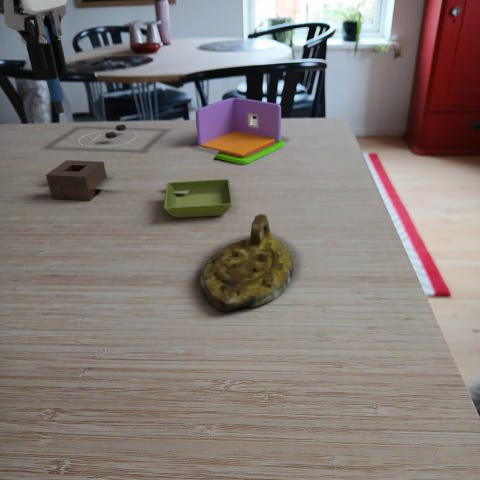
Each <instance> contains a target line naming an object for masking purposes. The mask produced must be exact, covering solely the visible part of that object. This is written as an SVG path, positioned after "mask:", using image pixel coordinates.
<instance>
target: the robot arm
mask: <svg viewBox="0 0 480 480" xmlns="http://www.w3.org/2000/svg"><path fill="white" fill-rule="evenodd" d="M67 2H68V0H0V16H4V24H5V26H6V27H7V28H10V29H12V30H14V31H16V32H17V33H18V34H19V35H20V39H21V42H22V43H23V44H24V45H25V46H26V51H27V55H28V59H29V63H30V67H31V71H32V75H33V78H34V79H36V80H46V79H57V78H58V77H59V76H65V75H67V74H68V68H67V62H66V58H65V52H64V48H63V43H62V38H63V31H62V26H61V23H62V19H63V18H64V17H65V15H66V13H67V9H66V4H67ZM32 21H33V22H32ZM44 26H46V27H47V29H48V34H49V38H50V42H51V43H47V36H46V31H45V27H44Z"/></svg>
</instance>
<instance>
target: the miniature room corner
mask: <svg viewBox="0 0 480 480" xmlns="http://www.w3.org/2000/svg"><path fill="white" fill-rule="evenodd" d="M254 117H255V118H256V123H253V121H254V119H253V118H254ZM195 127H196V138H197V145H198V146H199V147H202V148H207V149H211V150H215V151H217V153H216V154H215V156H214V157H213V158H214V159H218V160H222V161H225V162H229V163H234V164H239V165H247V164H249V163H253V162H254V161H257V160H259V159H261V158H263V157H265V156H267V155H269V154H271V153H273V152H275V151H277V150H279V149H281V148H283V147H285V145H286V142H285V141H284V140H282V139H281V138H282V106H281V104H279V103H274V102H269V101H268V102H267V101H263V100H262V101H261V100H255V99H248V98H242V97H229V98H226V99H225V98H224V99H222V100H219V101H216V102H213V103H211V104H208V105H205V106H202V107H200V108H198V109H196V110H195Z"/></svg>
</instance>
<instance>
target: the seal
mask: <svg viewBox="0 0 480 480" xmlns="http://www.w3.org/2000/svg"><path fill="white" fill-rule="evenodd" d="M269 224H270V223H269V219H268V216H267V215H266V214H264V213H260V214H257V215H255V216H254V219H253V221H252V223H251V227H250V234H249V237H247V238H243V239H241V240H239V241H235V242H232V243H230V244H228V245H226V246H224V247H223V248H220V249H219V250H217V251H216V252H215V253H214V254H213V255H212V256H211V257H210V258H209V259H208V260H207V261H206V263H205V265H204V267H203V268H202V270H201V271H200V279H199V283H200V287H201V289H202V290H203V293H204V294H205V296H206V299H207V300H208V302H210V303H211V304H212V305H213V306H214V307H215V308H217V309H219V310H222V311H224V312H231V311H233V310H235V309H242V308H245V307H250V308H257V307H260V306H262V305H263V306H264V305H265V304H267V303H269V302H272V301H274V300H275V299H277V298H278V297H279V296H281V295H282V294H284V292H285V290H286V289H287V288H288V286H289V285H290V281H291V279H292V276H293V273H294V260H293V257H292V254H291V251H290V250H289V249H288V248H287V247H286V245H285V244H284V243H282V242H281V241H280V240H278V239H277V238H276V237H274V236H273V234H272V233H271V229H270V225H269Z"/></svg>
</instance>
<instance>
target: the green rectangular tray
mask: <svg viewBox="0 0 480 480" xmlns="http://www.w3.org/2000/svg"><path fill="white" fill-rule="evenodd" d="M231 188H232V187H231V181H230V179H226V178H222V179H221V178H220V179H204V180H202V179H201V180H187V181H169V182H167V183H166V186H165V196H164V203H163V204H164V205H163V208H164V210H166V212H167V213H168V214H169V215H171V216H172V217H175V218H176V219H185V218H201V217H216V216H224V215H225V214H226V213H227V212H228V211H229V210H230V209H231V207H232V206H233V204H234V202H233V196H232V195H233V194H232V189H231ZM186 191H188V192H187V193H182V192H186ZM179 192H181V193H179Z"/></svg>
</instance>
